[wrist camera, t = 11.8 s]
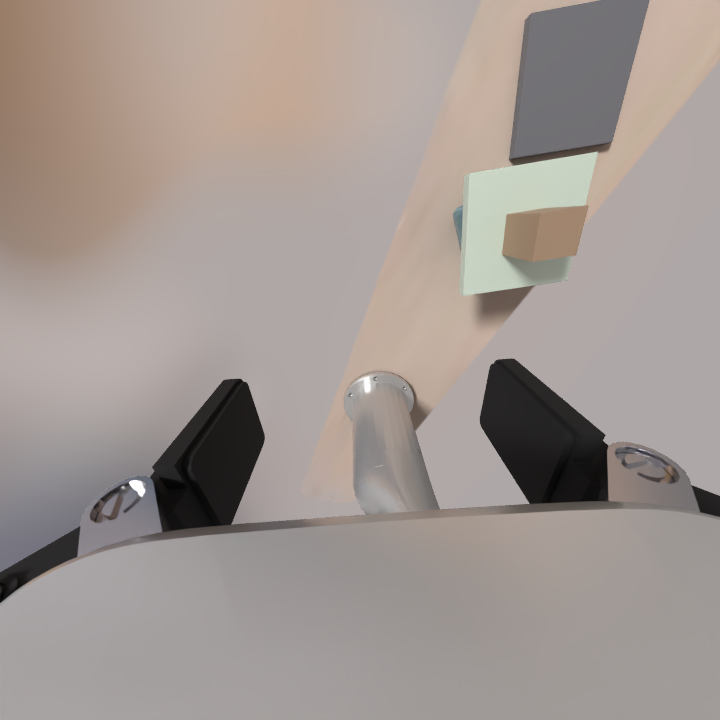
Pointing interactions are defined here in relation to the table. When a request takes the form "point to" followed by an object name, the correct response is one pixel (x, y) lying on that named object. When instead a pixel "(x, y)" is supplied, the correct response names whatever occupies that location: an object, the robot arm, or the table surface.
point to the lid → (523, 223)
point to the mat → (574, 75)
